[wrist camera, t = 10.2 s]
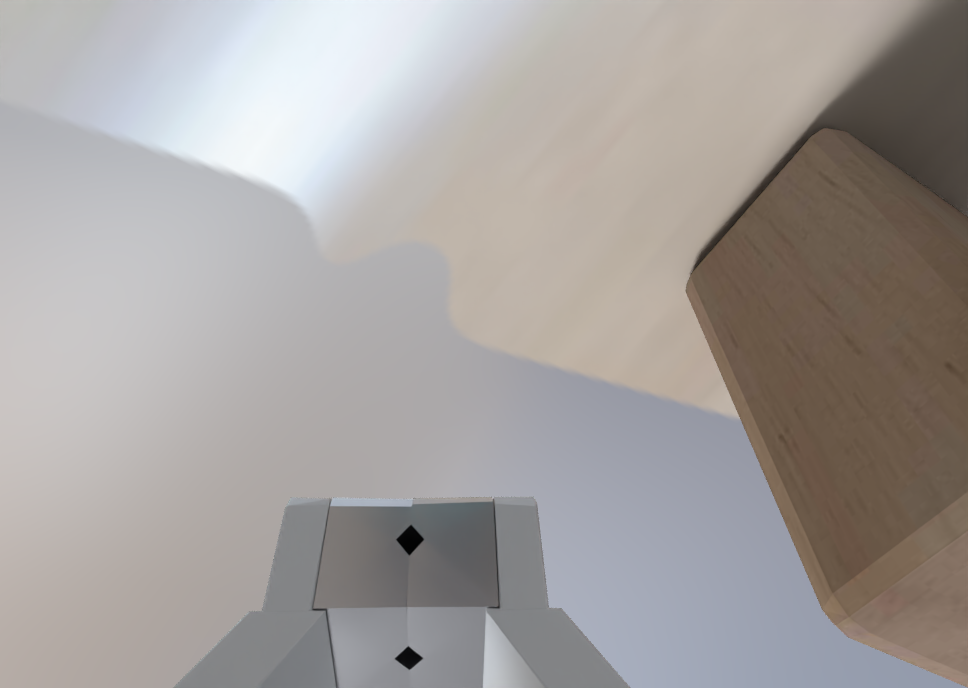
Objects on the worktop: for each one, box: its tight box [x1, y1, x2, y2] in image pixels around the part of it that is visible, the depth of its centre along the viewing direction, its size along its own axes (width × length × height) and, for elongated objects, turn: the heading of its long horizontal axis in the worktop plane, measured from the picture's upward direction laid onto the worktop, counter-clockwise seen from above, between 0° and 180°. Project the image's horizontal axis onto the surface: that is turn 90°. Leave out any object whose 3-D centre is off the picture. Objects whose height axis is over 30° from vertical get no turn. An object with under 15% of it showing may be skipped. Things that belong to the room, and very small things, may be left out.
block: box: [686, 128, 968, 687], centre depth 31 cm, size 10×10×20 cm
